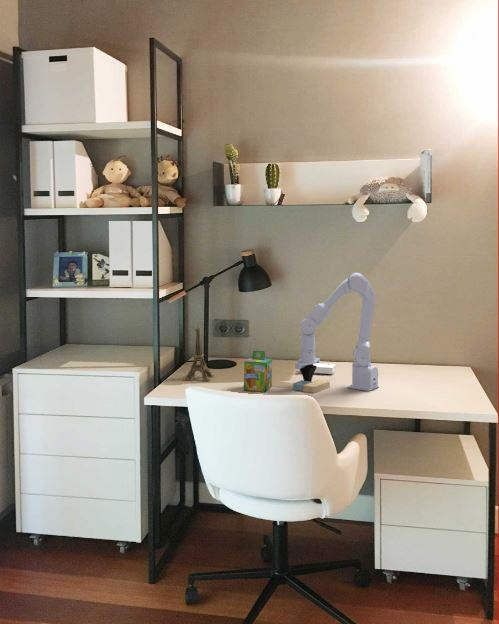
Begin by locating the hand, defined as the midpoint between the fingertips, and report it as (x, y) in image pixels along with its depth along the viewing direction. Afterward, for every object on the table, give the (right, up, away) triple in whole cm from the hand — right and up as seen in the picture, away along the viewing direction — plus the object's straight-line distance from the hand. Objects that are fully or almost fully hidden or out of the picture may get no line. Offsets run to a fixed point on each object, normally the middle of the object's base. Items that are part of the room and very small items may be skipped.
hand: (307, 384), depth 298 cm
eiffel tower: (-43, +1, +15) cm, 46 cm away
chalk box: (-19, -2, -3) cm, 19 cm away
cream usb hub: (+3, -2, -4) cm, 5 cm away
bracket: (+6, +2, +24) cm, 25 cm away
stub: (-2, -2, -3) cm, 4 cm away
